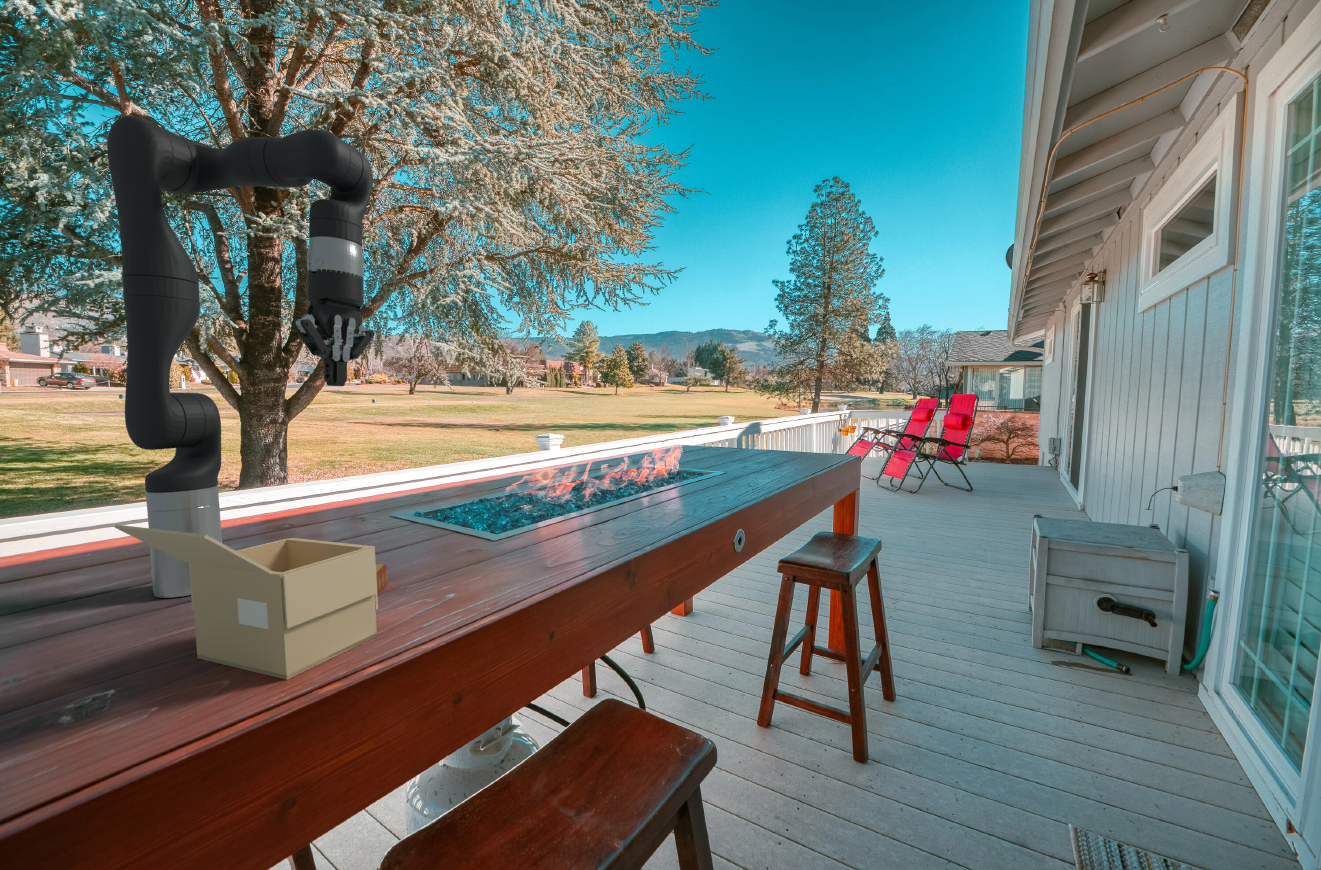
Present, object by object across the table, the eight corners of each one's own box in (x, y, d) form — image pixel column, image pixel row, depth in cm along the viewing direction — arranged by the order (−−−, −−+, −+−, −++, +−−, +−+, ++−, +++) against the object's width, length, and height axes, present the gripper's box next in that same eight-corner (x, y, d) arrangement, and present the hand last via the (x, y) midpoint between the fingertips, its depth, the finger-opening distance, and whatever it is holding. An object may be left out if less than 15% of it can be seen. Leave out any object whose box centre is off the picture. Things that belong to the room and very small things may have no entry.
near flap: (185, 559, 67) (184, 561, 66) (115, 524, 60) (113, 526, 60) (273, 571, 61) (272, 574, 61) (206, 534, 55) (203, 537, 55)
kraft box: (194, 657, 68) (186, 561, 67) (294, 619, 80) (289, 537, 79) (289, 680, 62) (282, 575, 61) (382, 635, 74) (378, 546, 73)
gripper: (354, 283, 93) (353, 387, 94) (276, 263, 80) (276, 383, 81) (389, 281, 90) (388, 388, 91) (314, 260, 78) (314, 384, 79)
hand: (335, 385), depth 86 cm, fingers closed
